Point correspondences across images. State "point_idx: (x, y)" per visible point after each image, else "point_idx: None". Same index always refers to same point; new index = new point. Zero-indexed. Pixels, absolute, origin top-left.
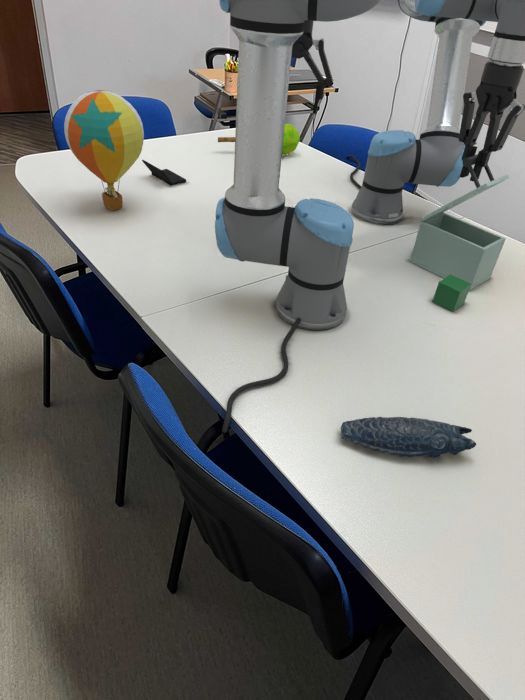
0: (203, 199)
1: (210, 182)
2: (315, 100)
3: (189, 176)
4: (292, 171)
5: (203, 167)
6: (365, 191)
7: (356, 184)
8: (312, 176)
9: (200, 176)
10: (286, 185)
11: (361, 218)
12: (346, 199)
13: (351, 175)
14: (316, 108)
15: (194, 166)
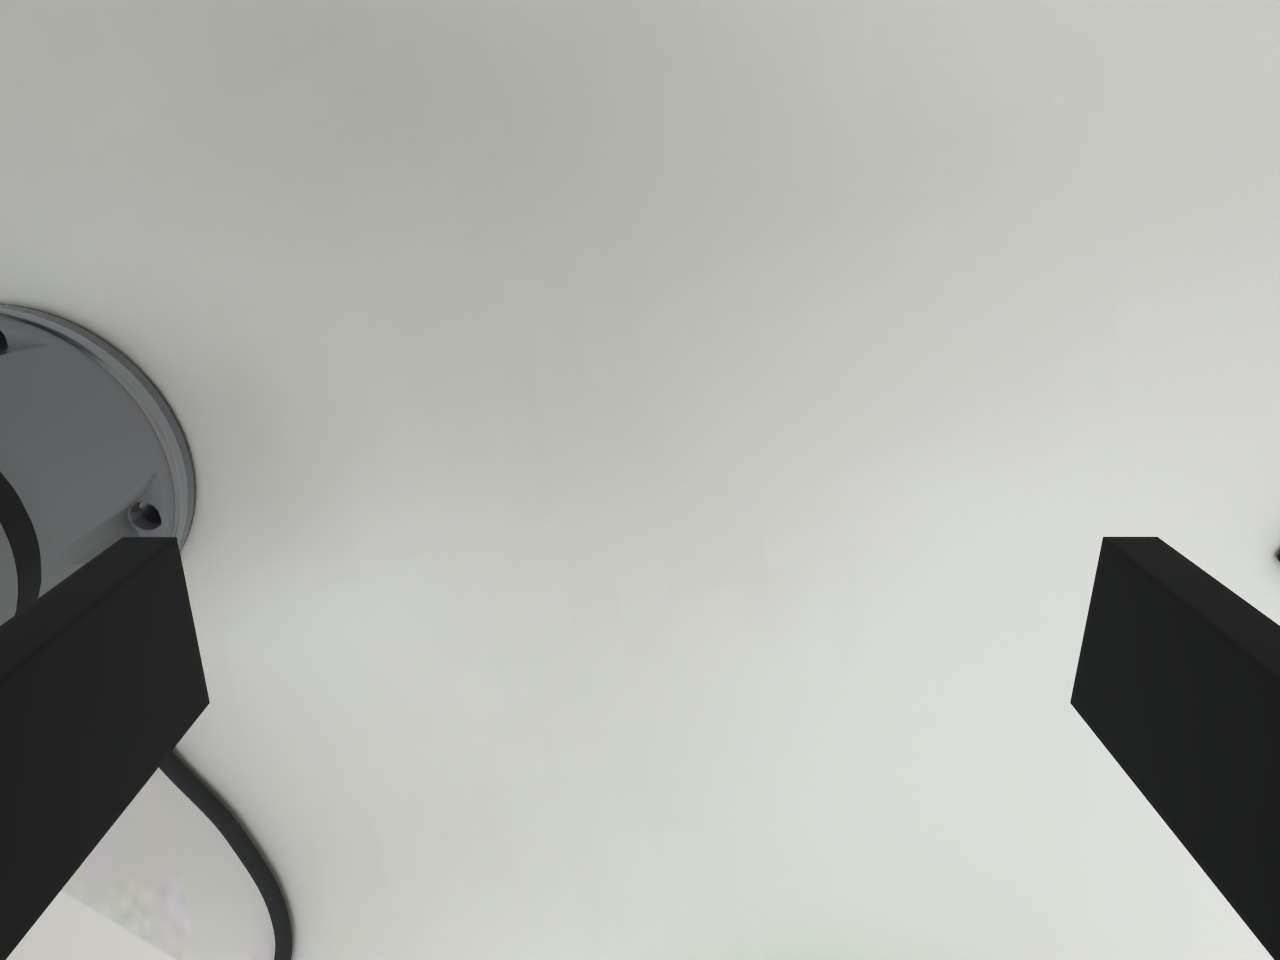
0: (1147, 339)
1: None
2: (7, 659)
3: None
4: (633, 906)
5: None
6: (6, 447)
7: (227, 820)
8: (508, 875)
9: None
10: (642, 709)
11: (93, 338)
12: (255, 623)
13: (278, 925)
14: (65, 579)
15: None
